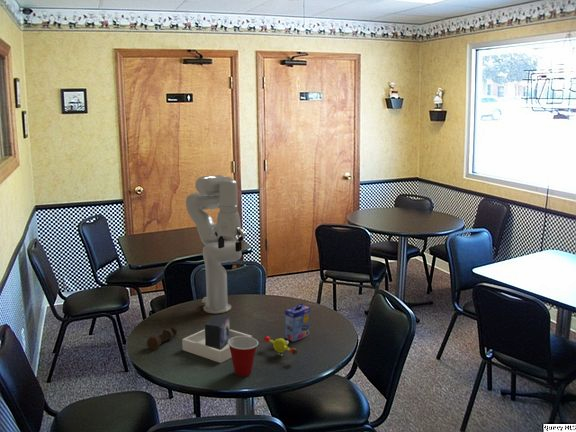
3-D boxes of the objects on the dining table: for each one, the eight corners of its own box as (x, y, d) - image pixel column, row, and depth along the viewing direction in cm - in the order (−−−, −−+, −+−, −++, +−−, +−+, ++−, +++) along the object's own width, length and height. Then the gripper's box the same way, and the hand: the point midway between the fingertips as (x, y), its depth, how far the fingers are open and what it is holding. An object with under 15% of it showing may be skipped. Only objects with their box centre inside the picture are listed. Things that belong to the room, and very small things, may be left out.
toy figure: (302, 360, 216) (302, 343, 215) (291, 365, 213) (290, 347, 211) (271, 346, 230) (270, 329, 228) (260, 350, 226) (259, 333, 225)
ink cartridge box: (294, 342, 233) (294, 307, 230) (284, 338, 237) (283, 304, 234) (310, 335, 240) (310, 301, 237) (300, 331, 244) (300, 298, 241)
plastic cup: (259, 379, 202) (259, 346, 200) (228, 380, 202) (227, 348, 199) (258, 365, 213) (258, 334, 211) (228, 366, 212) (227, 335, 210)
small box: (220, 352, 222) (219, 326, 220) (204, 350, 224) (203, 324, 222) (230, 341, 232) (230, 316, 230) (215, 339, 234) (214, 314, 232)
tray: (182, 350, 227) (182, 339, 226) (214, 335, 241) (214, 324, 240) (220, 363, 215) (220, 351, 214) (252, 346, 229) (251, 335, 228)
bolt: (175, 340, 241) (154, 353, 228) (166, 332, 242) (144, 345, 229) (181, 329, 239) (160, 342, 226) (172, 322, 241) (150, 334, 227)
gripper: (207, 208, 245) (208, 248, 248) (238, 213, 234) (239, 254, 238) (219, 206, 250) (220, 244, 254) (250, 210, 240) (251, 250, 244)
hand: (229, 249), depth 246 cm, fingers open, 9 cm apart
